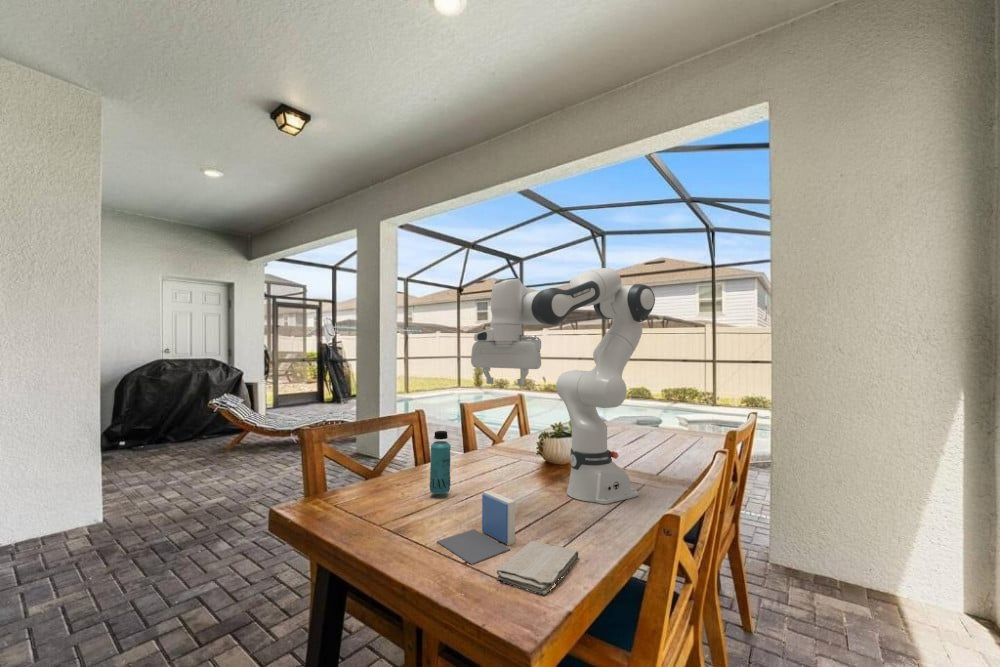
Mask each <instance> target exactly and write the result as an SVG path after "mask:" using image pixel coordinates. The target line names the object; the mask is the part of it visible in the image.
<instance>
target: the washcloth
mask: <svg viewBox="0 0 1000 667" xmlns="http://www.w3.org/2000/svg"><path fill="white" fill-rule="evenodd" d="M578 560H579V551H578V550H576V549H572V548H569V547H565V546H564V547H563V546H562V547H560V546H554V545H553V546H552V545H551V544H547V543H544V542H539V541H537V540H536V541H534V540H531V541H530V542H528V543H527V544H526V545H524V547H522V548H521V549H520V550H519V551H517V552H516V553H515V554H513V555H512V556H511V557H510V558H509V559H507V561H506V562H504V563H503V564H501V565H500V566H499V567H497V570H496V574H497V575H498V576H497V577H496V579H497V580H496V581H501V582H502V581H503V582H502V583H503V584H505V583H507V584H510V585H509V586H511V585H513V586H515V587H514V588H517V587H520V588H519V589H521V588H523V589H522V590H524V589H528V590H529V591H528V592H530V591H533V592H536V593H539V594H538V595H540V594H543V595H544V596H545V595H546V594H548V593H547V592H549V591H550V589H551V588H552V586H553V585H554V583H555V584H557V583H558V582H559V581H560V580H561V579H562V578H561V577H563V576H564V575H565V574H566V573H568V572H569V571H570V570H571V568H573V566H574V565H575V564H576V563H577V561H578ZM575 562H576V563H575ZM574 563H575V564H574ZM570 567H571V568H570ZM569 569H570V570H569ZM568 570H569V571H568ZM566 575H567V574H566ZM566 575H565V576H566ZM565 576H564V577H565ZM564 577H563V578H564ZM558 579H559V580H558ZM562 580H563V579H562ZM562 580H561V581H562ZM561 581H560V582H561ZM560 582H559V583H560ZM559 583H558V584H559ZM507 584H506V585H507ZM513 586H512V587H513ZM533 592H532V593H533ZM536 593H535V594H536ZM549 593H550V592H549Z"/></svg>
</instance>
